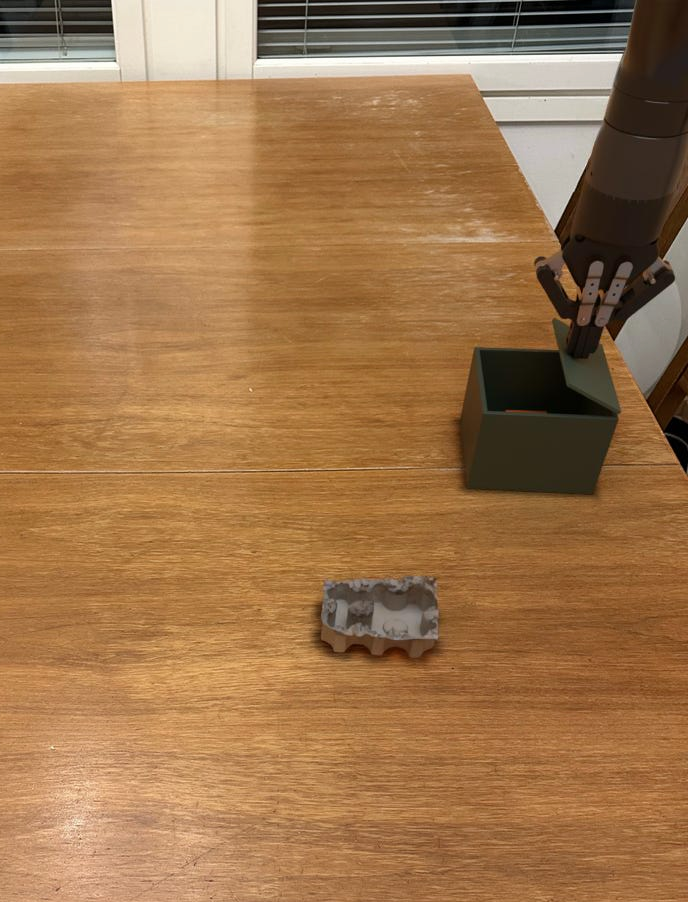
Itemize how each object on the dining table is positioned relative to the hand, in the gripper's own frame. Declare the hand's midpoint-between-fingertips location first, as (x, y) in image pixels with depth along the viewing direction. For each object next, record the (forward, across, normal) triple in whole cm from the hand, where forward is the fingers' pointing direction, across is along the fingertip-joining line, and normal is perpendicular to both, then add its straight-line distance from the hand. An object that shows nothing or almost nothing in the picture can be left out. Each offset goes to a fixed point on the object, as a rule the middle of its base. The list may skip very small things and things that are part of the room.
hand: (578, 354), depth 97 cm
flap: (+1, +1, 0) cm, 2 cm away
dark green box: (+13, -3, 0) cm, 13 cm away
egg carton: (+13, -19, -27) cm, 35 cm away
